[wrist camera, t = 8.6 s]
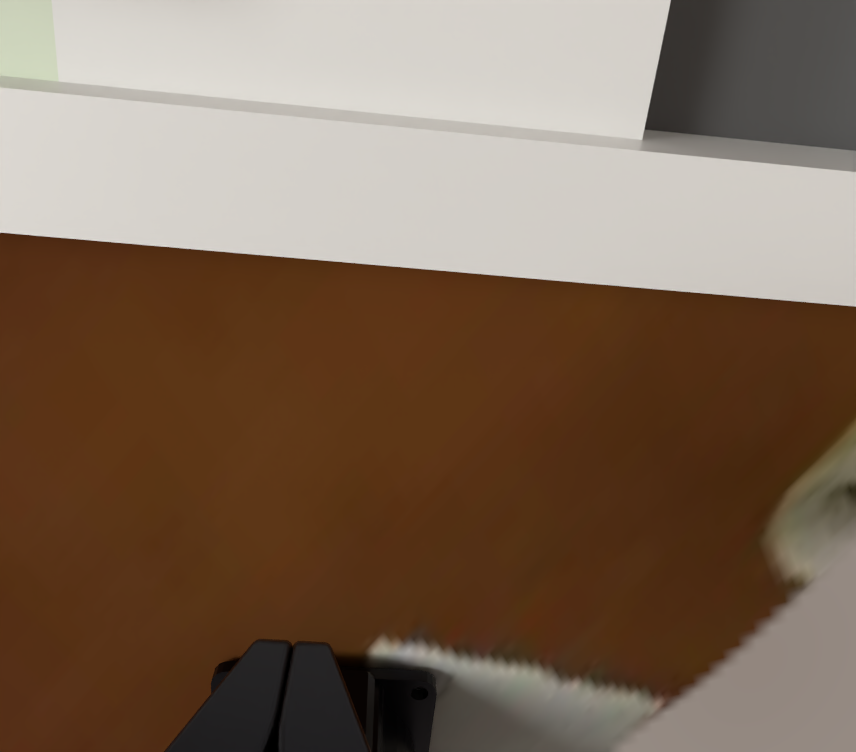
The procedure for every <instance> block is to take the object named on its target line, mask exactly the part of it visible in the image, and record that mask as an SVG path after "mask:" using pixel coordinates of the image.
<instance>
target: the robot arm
mask: <svg viewBox="0 0 856 752" xmlns="http://www.w3.org/2000/svg"><path fill="white" fill-rule="evenodd" d="M418 687H422V688H424V689H420V690H418V689H415V688H418ZM436 695H437V694H436V680H435V678H434V677H433V675H432V674H430V673H428V672H425V671H419V670H399V669H380V668H360V667H340V666H339V665H338V663H337V660H336V657H335V655H334V652H333V650H332V648H331V646H330V645H329V644H328V643H325V642H310V641H297V642H296V643H295V644H294V645H293V648H292V644H291V642H289V641H287V640H272V639H258V640H256V641H255V642H253V643H252V645H251V646H250V647H249V648H248V649H247V651H246V652H245V653H244V654H243V655H242V657H241V658H240V659H239V660H238V661H226V662H223V663H221V664H219V665H218V666H217V667H216V668H215V671H214V675H213V679H212V682H211V695H210V696H209V697H208V698H207V700H206V701H205V702H204V703H203V705H202V706H201V707H200V708H199V709H198V711H197V712H196V713H195V714H194V716H193V717H192V718H191V719H190V721H189V722H188V723H187V724H186V725H185V727H184V728H183V729H182V730H181V732H180V733H179V734H178V735H177V736H176V738H175V739H174V740H173V741H172V743H171V744H170V745H169V746H168V748H167V749H166V750H165V751H164V752H428V751H429V744H430V737H431V730H432V723H433V716H434V709H435V702H436Z"/></svg>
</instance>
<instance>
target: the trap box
mask: <svg viewBox="0 0 856 752" xmlns="http://www.w3.org/2000/svg"><path fill="white" fill-rule="evenodd" d="M0 233H12V234H24V235H35V236H47V237H58V238H70V239H81V240H93V241H105V242H116V243H128V244H139V245H151V246H162V247H174V248H186V249H197V250H209V251H220V252H232V253H243V254H255V255H267V256H278V257H290V258H301V259H313V260H324V261H336V262H348V263H359V264H371V265H382V266H394V267H405V268H417V269H429V270H440V271H452V272H463V273H475V274H486V275H498V276H510V277H521V278H533V279H544V280H556V281H567V282H579V283H591V284H602V285H614V286H625V287H637V288H648V289H660V290H672V291H683V292H695V293H706V294H718V295H729V296H741V297H753V298H764V299H776V300H787V301H799V302H810V303H822V304H834V305H845V306H856V0H0Z"/></svg>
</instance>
